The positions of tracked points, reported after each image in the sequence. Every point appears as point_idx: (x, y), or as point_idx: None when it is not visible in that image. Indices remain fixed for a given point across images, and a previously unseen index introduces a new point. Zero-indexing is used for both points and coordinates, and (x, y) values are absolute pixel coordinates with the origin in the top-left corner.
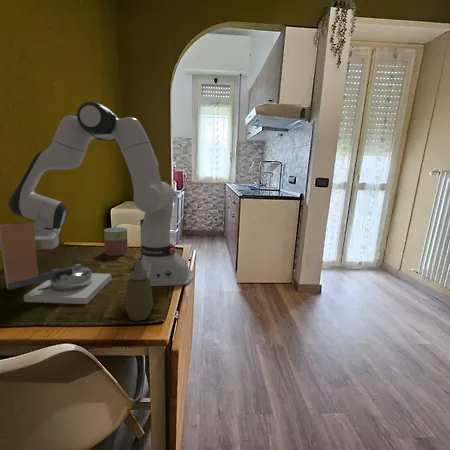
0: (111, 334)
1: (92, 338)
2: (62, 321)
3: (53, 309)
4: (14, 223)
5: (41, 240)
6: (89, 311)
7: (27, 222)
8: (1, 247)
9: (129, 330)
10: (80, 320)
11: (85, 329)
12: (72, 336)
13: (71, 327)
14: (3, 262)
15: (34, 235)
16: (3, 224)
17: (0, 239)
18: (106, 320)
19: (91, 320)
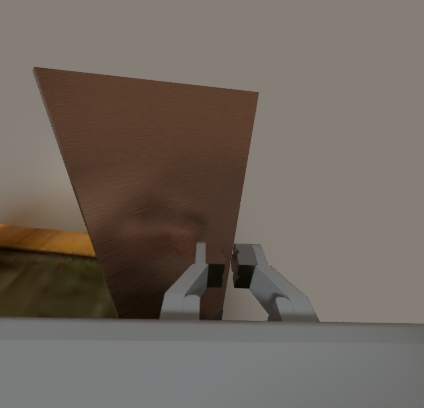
0: (37, 234)
1: (64, 231)
2: (94, 269)
3: (107, 315)
4: (189, 85)
5: (20, 319)
6: (33, 296)
7: (84, 73)
8: (237, 213)
9: (6, 238)
10: (64, 268)
11: (66, 247)
12: (87, 237)
13: (84, 253)
14: (228, 264)
15: (73, 189)
16: (239, 90)
17: (241, 177)
18: (21, 263)
19: (46, 266)
